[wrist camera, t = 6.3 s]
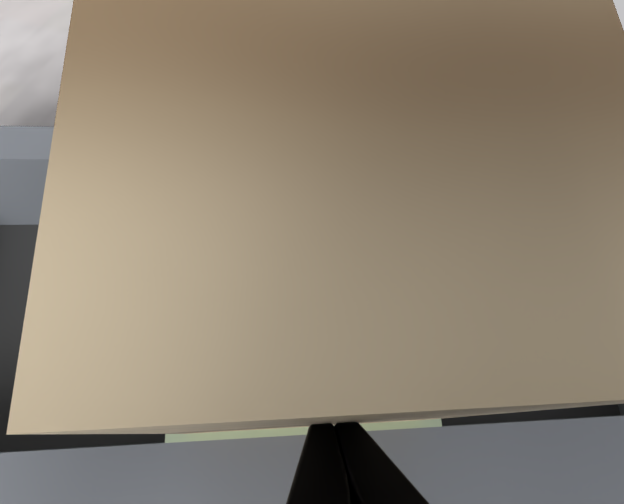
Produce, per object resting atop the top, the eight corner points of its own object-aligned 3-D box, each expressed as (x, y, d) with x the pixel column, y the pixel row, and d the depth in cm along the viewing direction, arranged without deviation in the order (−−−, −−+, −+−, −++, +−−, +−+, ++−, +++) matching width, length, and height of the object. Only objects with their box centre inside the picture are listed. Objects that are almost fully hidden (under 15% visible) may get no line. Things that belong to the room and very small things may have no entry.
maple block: (422, 420, 12) (754, 392, 4) (186, 433, 12) (6, 434, 3) (396, 210, 15) (579, -91, 6) (193, 211, 14) (93, -125, 6)
